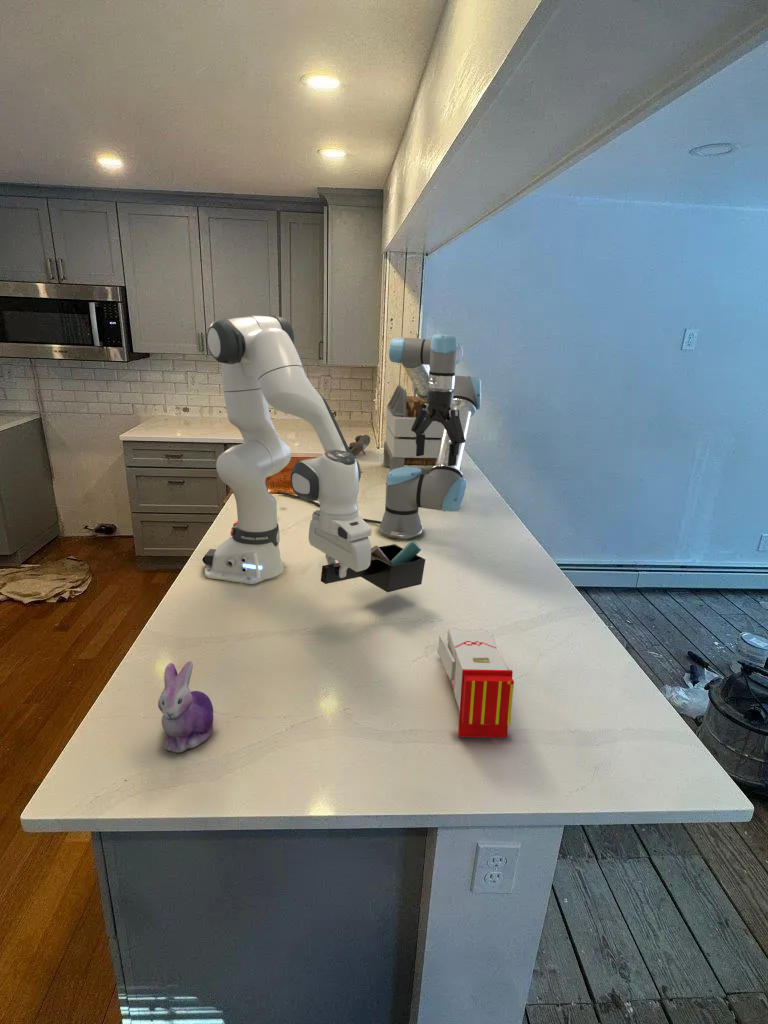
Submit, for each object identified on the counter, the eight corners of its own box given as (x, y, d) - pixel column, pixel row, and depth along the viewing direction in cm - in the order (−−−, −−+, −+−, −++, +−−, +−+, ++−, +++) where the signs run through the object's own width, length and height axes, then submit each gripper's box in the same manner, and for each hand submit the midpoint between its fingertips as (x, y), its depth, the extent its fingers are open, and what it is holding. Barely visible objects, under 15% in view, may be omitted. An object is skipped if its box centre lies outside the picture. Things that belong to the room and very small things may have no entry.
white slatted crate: (382, 463, 289) (386, 382, 275) (445, 464, 293) (451, 384, 279) (390, 482, 257) (394, 392, 243) (460, 483, 261) (468, 394, 247)
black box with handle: (307, 584, 140) (309, 558, 138) (390, 567, 158) (394, 544, 157) (336, 604, 131) (340, 576, 129) (421, 584, 150) (425, 559, 148)
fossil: (346, 440, 314) (367, 425, 309) (357, 454, 317) (378, 439, 312) (340, 454, 295) (362, 438, 290) (351, 468, 298) (374, 453, 293)
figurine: (165, 763, 97) (157, 690, 92) (158, 725, 105) (150, 656, 100) (221, 746, 101) (217, 675, 96) (210, 711, 109) (205, 644, 104)
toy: (488, 613, 130) (523, 677, 101) (484, 667, 133) (517, 744, 104) (435, 612, 130) (455, 676, 101) (432, 666, 133) (451, 743, 103)
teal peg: (388, 559, 150) (409, 538, 149) (395, 564, 152) (416, 543, 151) (395, 568, 147) (416, 546, 146) (402, 572, 150) (423, 551, 149)
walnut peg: (382, 577, 151) (364, 555, 149) (390, 568, 153) (372, 546, 151) (390, 576, 148) (371, 554, 146) (398, 567, 150) (379, 544, 148)
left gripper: (302, 510, 137) (302, 561, 142) (354, 537, 123) (352, 593, 128) (323, 505, 141) (323, 556, 146) (376, 531, 127) (373, 586, 132)
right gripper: (402, 385, 172) (398, 453, 179) (464, 396, 154) (457, 471, 162) (420, 383, 177) (416, 450, 184) (482, 394, 159) (474, 467, 166)
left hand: (337, 573), depth 137 cm, fingers closed on black box with handle
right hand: (435, 460), depth 173 cm, fingers open, 13 cm apart
